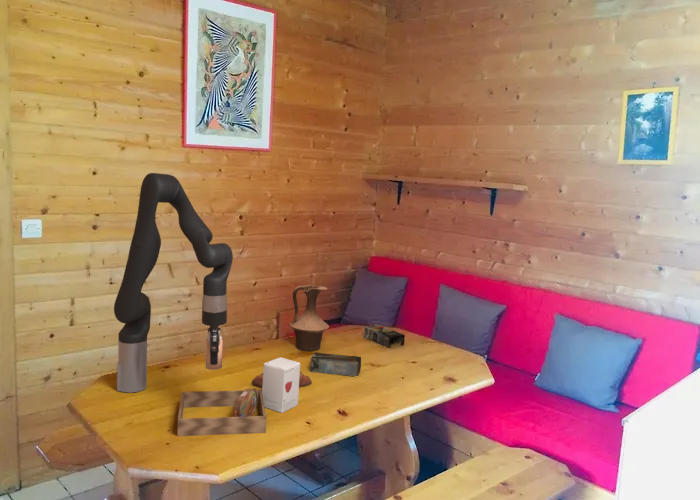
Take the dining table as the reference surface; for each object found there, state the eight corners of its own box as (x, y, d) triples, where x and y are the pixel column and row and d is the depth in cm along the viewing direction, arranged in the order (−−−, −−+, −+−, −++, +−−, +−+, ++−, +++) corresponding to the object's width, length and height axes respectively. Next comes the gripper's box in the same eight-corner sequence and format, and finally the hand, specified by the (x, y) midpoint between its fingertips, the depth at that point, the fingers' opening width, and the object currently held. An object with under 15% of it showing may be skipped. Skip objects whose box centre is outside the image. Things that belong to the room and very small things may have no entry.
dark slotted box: (360, 337, 284) (361, 324, 283) (376, 334, 290) (377, 322, 289) (388, 350, 269) (389, 336, 268) (404, 347, 275) (406, 334, 274)
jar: (205, 370, 186) (206, 339, 184) (205, 364, 190) (205, 334, 189) (222, 369, 187) (222, 338, 185) (221, 363, 192) (222, 334, 190)
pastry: (282, 373, 231) (283, 353, 230) (313, 384, 222) (314, 363, 221) (250, 385, 218) (251, 364, 217) (282, 397, 209) (283, 375, 208)
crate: (177, 436, 176) (177, 419, 175) (181, 406, 196) (181, 391, 195) (265, 432, 182) (266, 417, 181) (260, 404, 202) (261, 390, 201)
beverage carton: (313, 365, 242) (314, 349, 241) (361, 371, 240) (362, 355, 239) (309, 372, 234) (310, 356, 233) (358, 378, 232) (359, 361, 231)
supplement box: (282, 413, 195) (284, 369, 193) (260, 406, 200) (262, 363, 198) (298, 405, 203) (301, 362, 201) (278, 398, 208) (280, 356, 205)
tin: (240, 429, 183) (241, 403, 181) (230, 428, 183) (231, 401, 182) (257, 410, 197) (258, 385, 196) (248, 408, 198) (249, 384, 197)
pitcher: (293, 355, 252) (296, 289, 248) (282, 342, 268) (285, 280, 264) (333, 352, 259) (337, 288, 254) (320, 340, 274) (324, 280, 270)
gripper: (201, 302, 192) (201, 354, 194) (202, 314, 178) (201, 369, 181) (226, 302, 194) (225, 353, 196) (228, 314, 180) (227, 368, 182)
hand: (213, 361), depth 188 cm, fingers closed on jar, 5 cm apart
